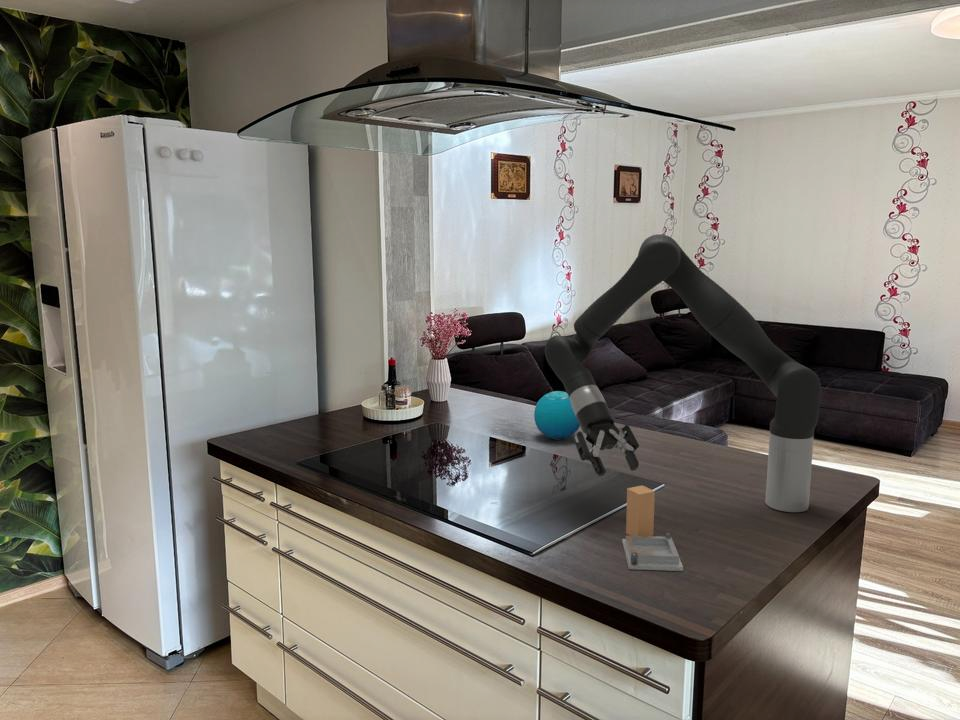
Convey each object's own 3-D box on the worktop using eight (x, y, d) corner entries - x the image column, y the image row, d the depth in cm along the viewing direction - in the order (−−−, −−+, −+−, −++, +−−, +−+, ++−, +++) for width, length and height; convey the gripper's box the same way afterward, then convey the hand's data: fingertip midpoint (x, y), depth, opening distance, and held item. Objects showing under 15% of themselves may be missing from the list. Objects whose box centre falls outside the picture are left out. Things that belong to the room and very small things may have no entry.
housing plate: (622, 542, 145) (622, 530, 145) (671, 543, 144) (672, 531, 144) (628, 569, 133) (629, 556, 133) (683, 571, 132) (683, 558, 132)
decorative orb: (569, 448, 211) (570, 399, 208) (525, 441, 218) (525, 393, 216) (589, 435, 223) (590, 389, 221) (547, 429, 231) (547, 384, 228)
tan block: (626, 533, 150) (627, 488, 148) (641, 529, 151) (642, 485, 150) (637, 540, 146) (638, 494, 144) (653, 536, 148) (654, 491, 146)
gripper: (570, 403, 156) (598, 468, 148) (623, 397, 162) (653, 459, 154) (558, 421, 162) (584, 484, 153) (609, 414, 168) (638, 475, 159)
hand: (619, 471), depth 154 cm, fingers open, 8 cm apart
